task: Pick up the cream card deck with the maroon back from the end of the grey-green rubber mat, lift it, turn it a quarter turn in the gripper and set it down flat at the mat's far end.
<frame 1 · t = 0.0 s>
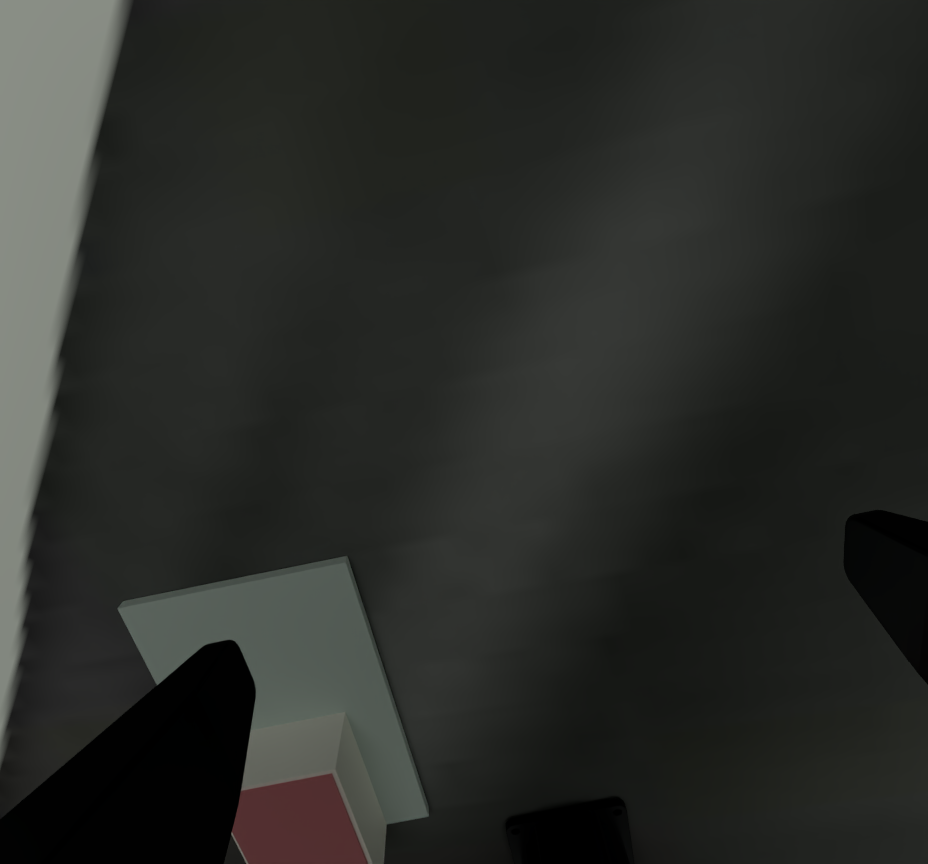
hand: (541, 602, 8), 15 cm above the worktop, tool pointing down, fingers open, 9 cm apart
card deck: (313, 781, 29), resting on mat
mat: (291, 714, 28), on the worktop
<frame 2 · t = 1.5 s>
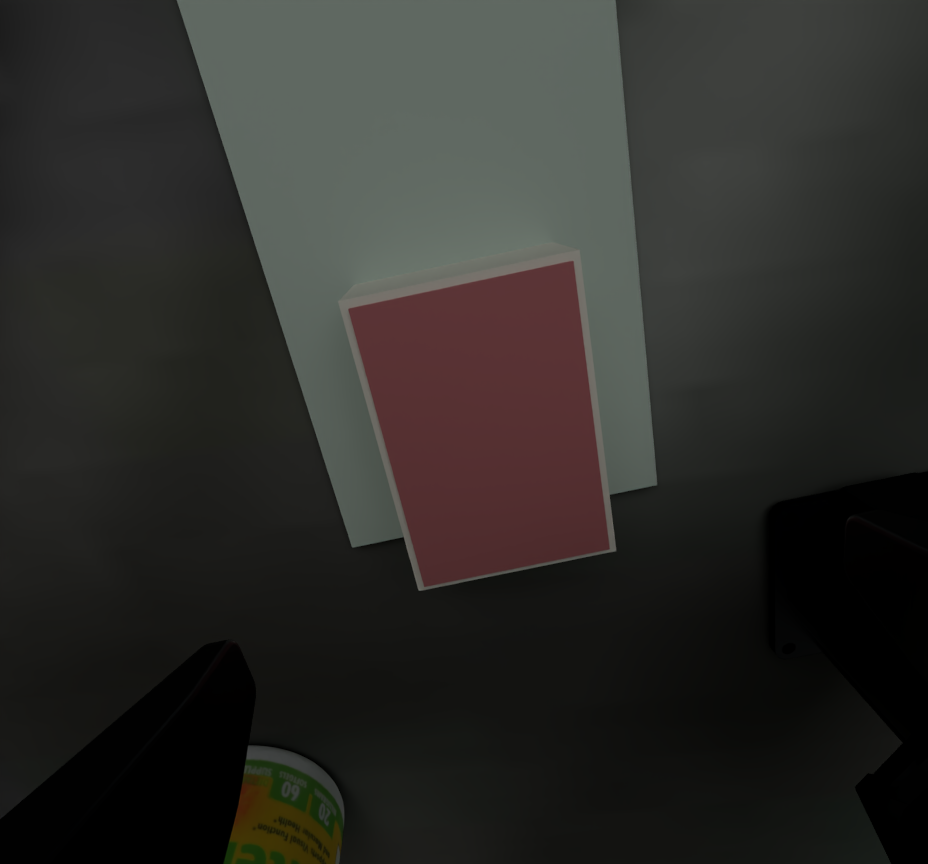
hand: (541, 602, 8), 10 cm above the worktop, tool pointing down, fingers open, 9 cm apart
supplement bottle: (259, 798, 24), on the worktop
card deck: (480, 400, 17), resting on mat
mat: (452, 261, 16), on the worktop
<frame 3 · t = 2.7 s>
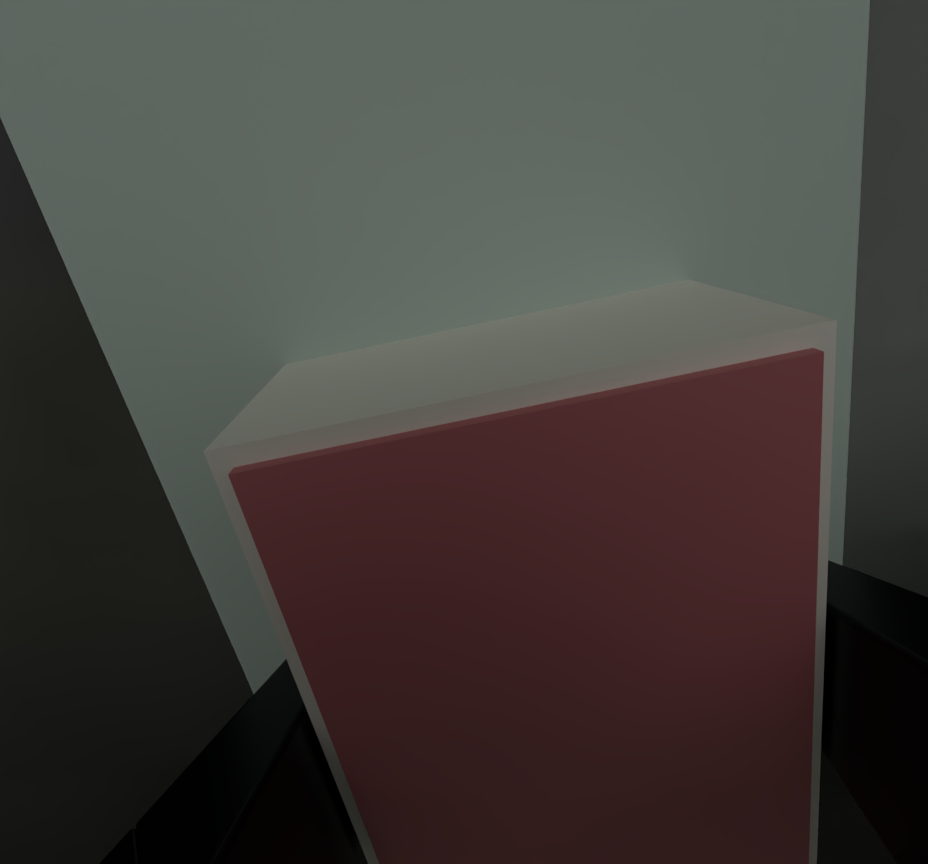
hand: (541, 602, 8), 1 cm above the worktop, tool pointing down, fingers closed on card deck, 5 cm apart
card deck: (531, 569, 9), resting on mat, touching gripper
mat: (482, 316, 8), on the worktop
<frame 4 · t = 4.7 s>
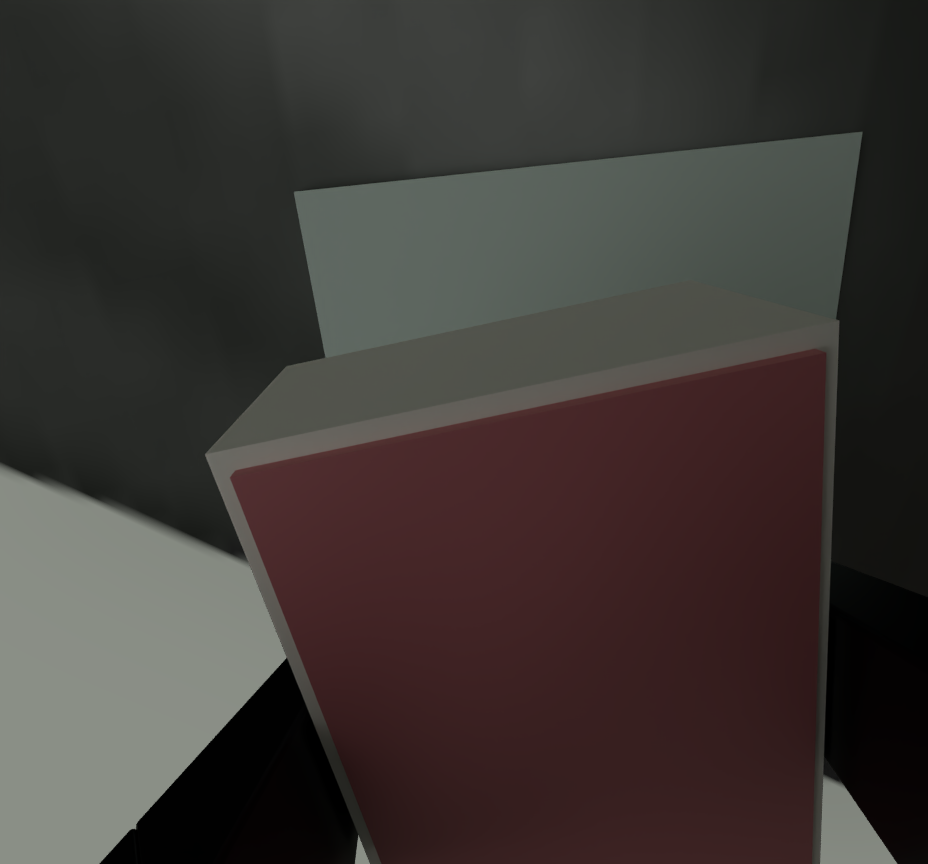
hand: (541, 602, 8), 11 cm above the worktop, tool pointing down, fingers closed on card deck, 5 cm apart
card deck: (533, 570, 9), point 11 cm above the worktop, touching gripper
mat: (578, 334, 18), on the worktop
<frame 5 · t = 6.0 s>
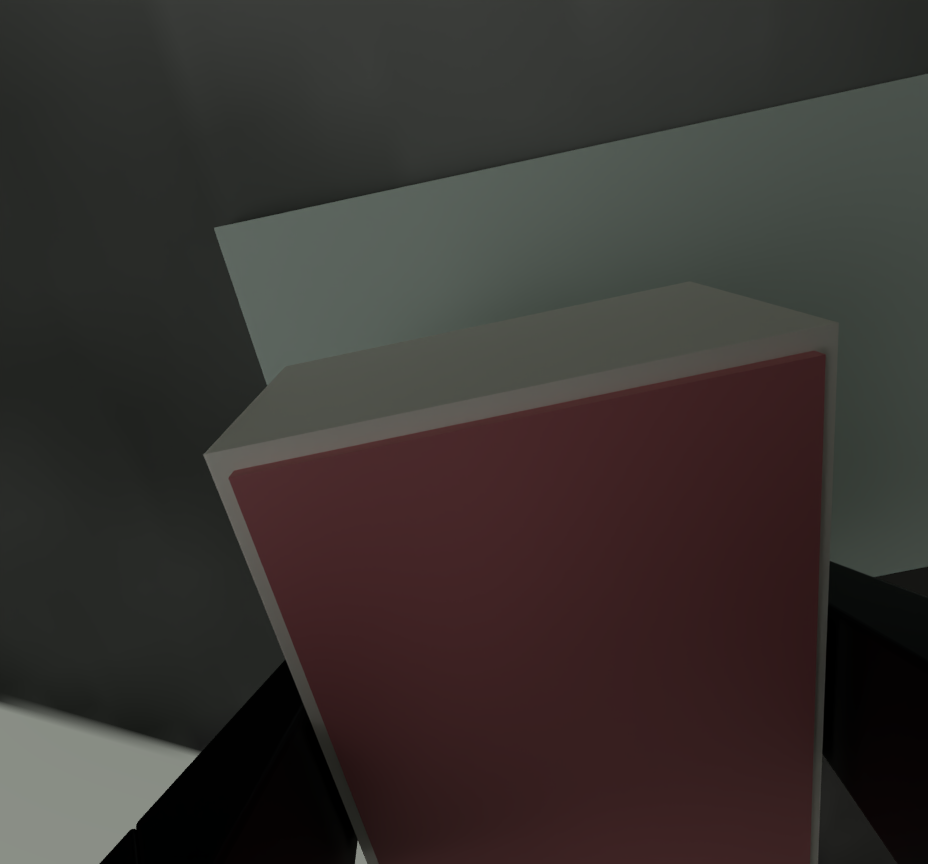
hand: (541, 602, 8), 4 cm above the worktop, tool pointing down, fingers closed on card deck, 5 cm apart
card deck: (532, 571, 9), point 3 cm above the worktop, touching gripper
mat: (686, 398, 12), on the worktop
when the fingers open (3 cm above the worktop, at t = 6.7 s): card deck drops 1 cm, resting on mat.
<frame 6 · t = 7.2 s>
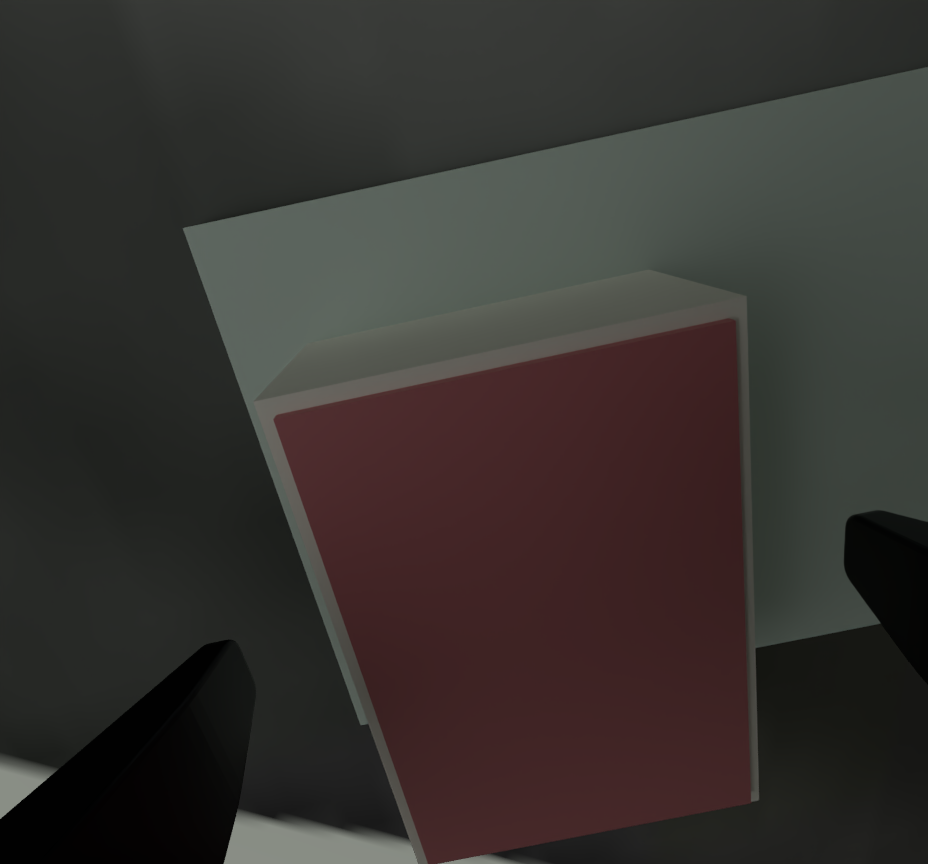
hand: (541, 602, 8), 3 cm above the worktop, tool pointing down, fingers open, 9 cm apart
card deck: (519, 523, 11), resting on mat
mat: (719, 419, 11), on the worktop
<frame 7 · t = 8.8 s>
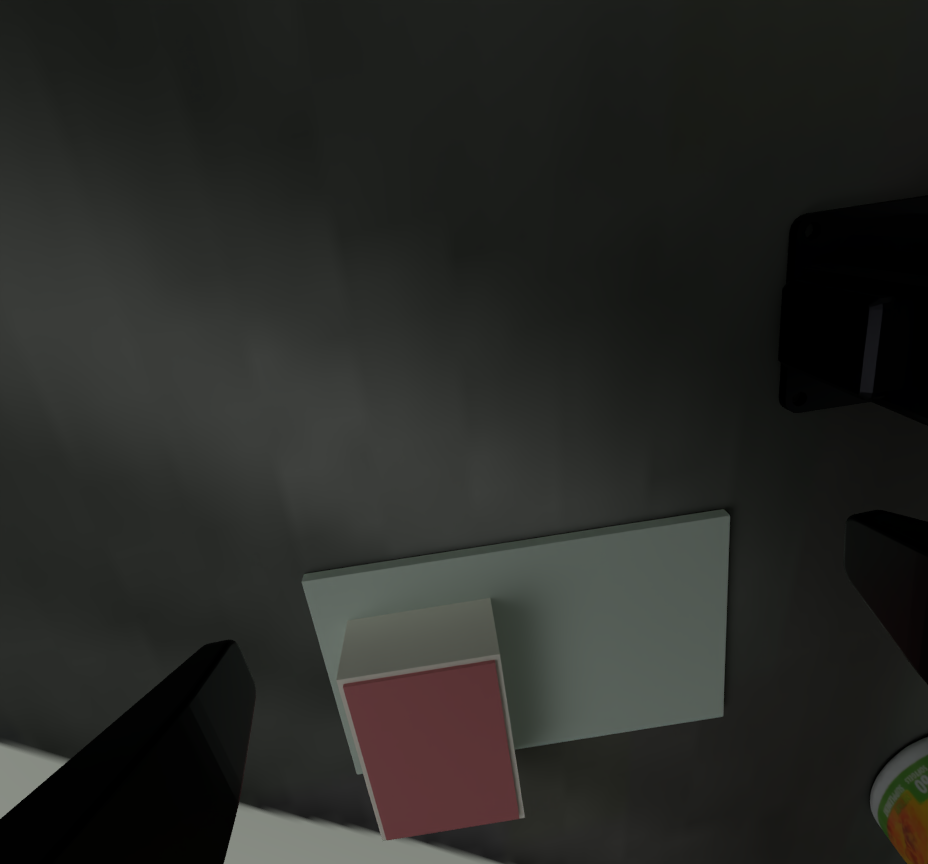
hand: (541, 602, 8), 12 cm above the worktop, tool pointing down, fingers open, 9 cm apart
card deck: (435, 689, 23), resting on mat
mat: (527, 645, 24), on the worktop
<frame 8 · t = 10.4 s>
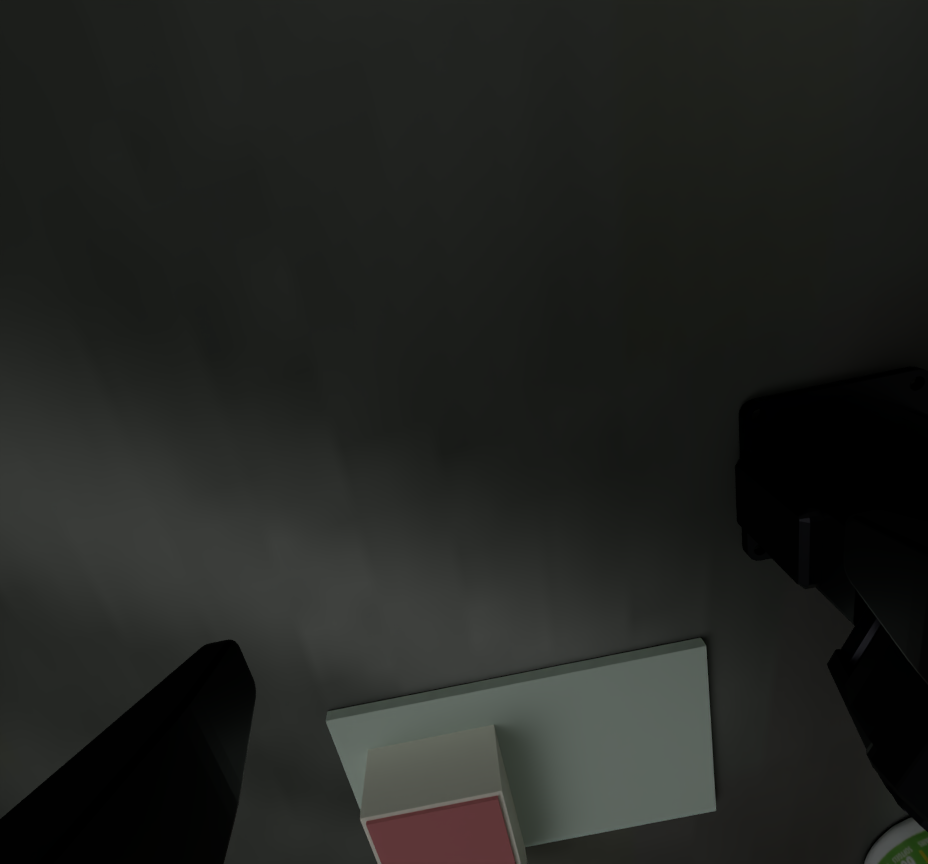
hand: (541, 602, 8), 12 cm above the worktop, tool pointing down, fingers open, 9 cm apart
supplement bottle: (922, 847, 30), on the worktop
card deck: (450, 800, 26), resting on mat
mat: (531, 758, 26), on the worktop
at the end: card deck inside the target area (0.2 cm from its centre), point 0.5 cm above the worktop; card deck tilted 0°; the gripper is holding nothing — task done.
